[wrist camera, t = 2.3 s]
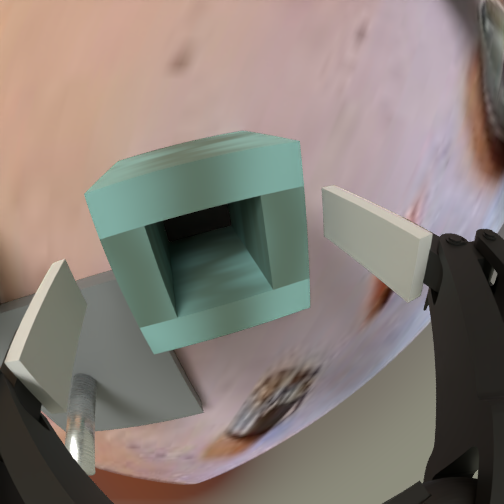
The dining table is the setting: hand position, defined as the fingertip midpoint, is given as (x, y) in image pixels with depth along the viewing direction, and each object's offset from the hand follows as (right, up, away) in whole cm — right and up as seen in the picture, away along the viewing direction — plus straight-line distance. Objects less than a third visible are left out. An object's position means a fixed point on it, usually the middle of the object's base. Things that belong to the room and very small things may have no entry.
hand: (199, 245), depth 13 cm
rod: (-12, -12, +7) cm, 19 cm away
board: (-13, -11, +8) cm, 19 cm away
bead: (-1, +3, +5) cm, 6 cm away
